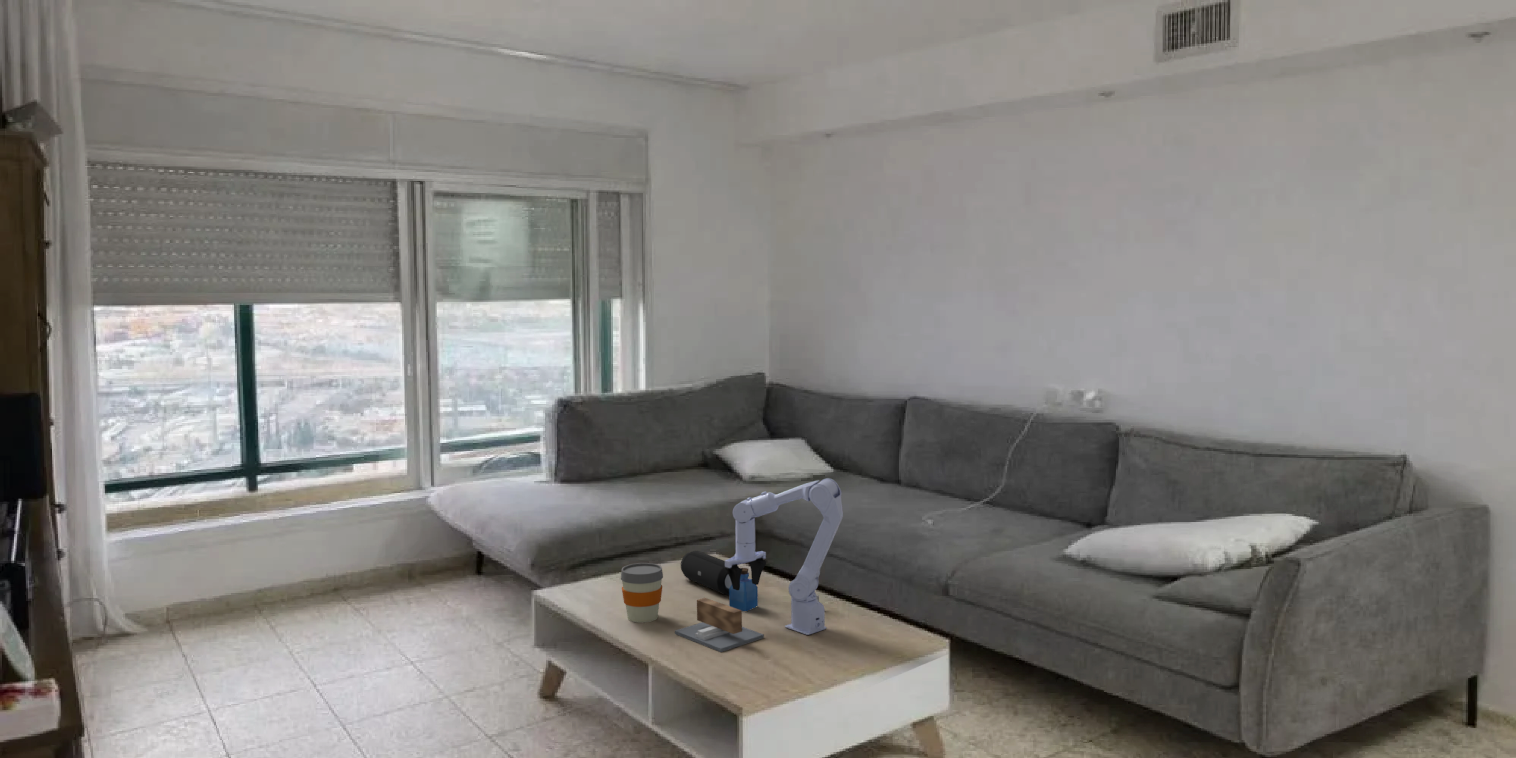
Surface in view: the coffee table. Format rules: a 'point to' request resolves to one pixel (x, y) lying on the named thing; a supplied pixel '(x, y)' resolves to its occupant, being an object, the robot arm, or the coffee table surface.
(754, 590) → the perfume bottle
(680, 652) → the coffee table surface
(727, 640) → the ridge stand
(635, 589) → the reusable coffee cup
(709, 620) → the walnut bar
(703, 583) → the portable speaker
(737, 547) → the robot arm
